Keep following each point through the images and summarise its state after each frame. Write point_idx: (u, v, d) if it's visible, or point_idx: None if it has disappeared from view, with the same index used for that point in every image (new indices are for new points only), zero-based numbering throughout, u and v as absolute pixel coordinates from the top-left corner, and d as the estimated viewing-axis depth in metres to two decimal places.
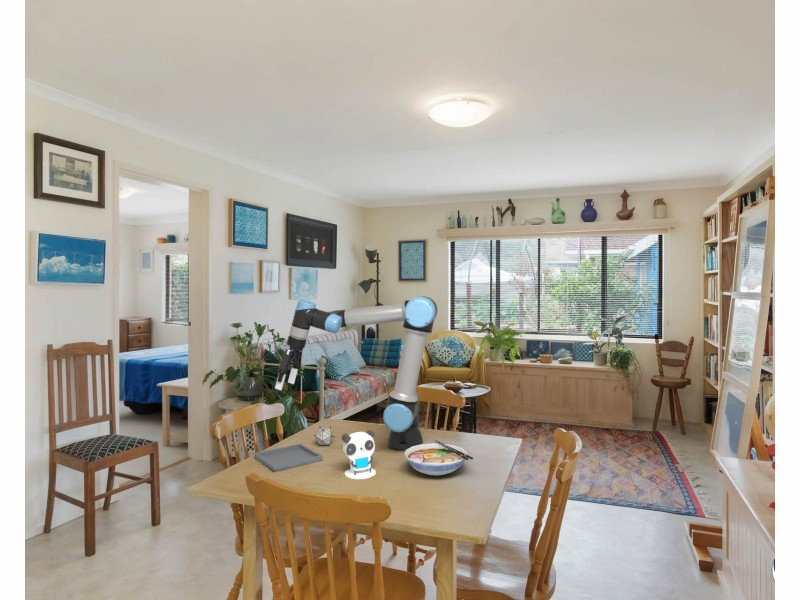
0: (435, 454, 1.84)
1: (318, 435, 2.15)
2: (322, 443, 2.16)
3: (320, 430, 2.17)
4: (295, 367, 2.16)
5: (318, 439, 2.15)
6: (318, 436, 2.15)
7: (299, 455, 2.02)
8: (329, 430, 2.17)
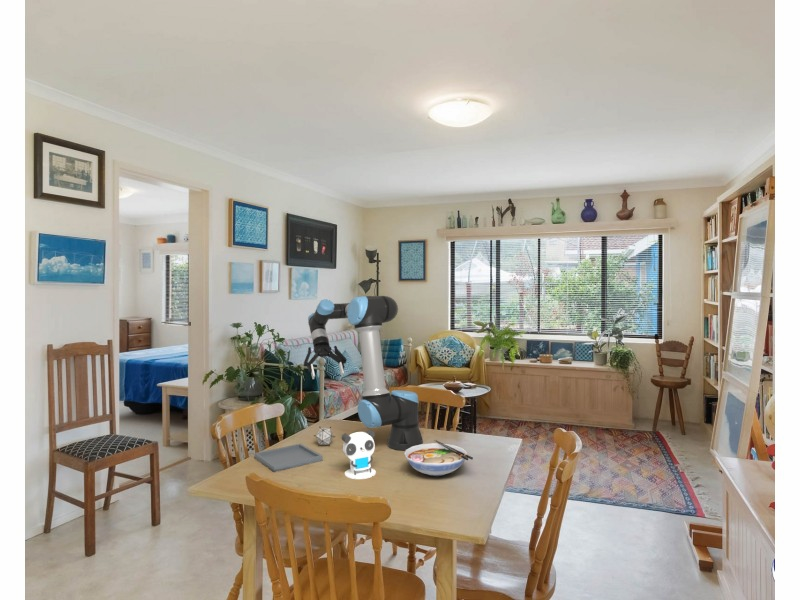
0: (435, 454, 1.84)
1: (318, 435, 2.15)
2: (322, 443, 2.16)
3: (320, 430, 2.17)
4: None
5: (318, 439, 2.15)
6: (318, 436, 2.15)
7: (299, 455, 2.02)
8: (329, 430, 2.17)
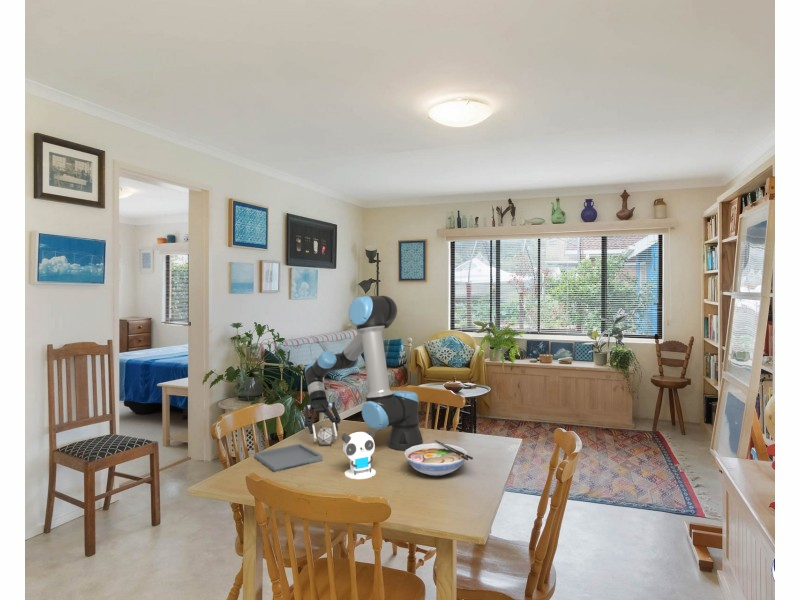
0: (435, 454, 1.84)
1: (319, 435, 2.15)
2: (323, 443, 2.16)
3: (321, 430, 2.17)
4: (333, 423, 2.21)
5: (319, 439, 2.15)
6: (319, 436, 2.15)
7: (299, 455, 2.02)
8: (330, 430, 2.17)
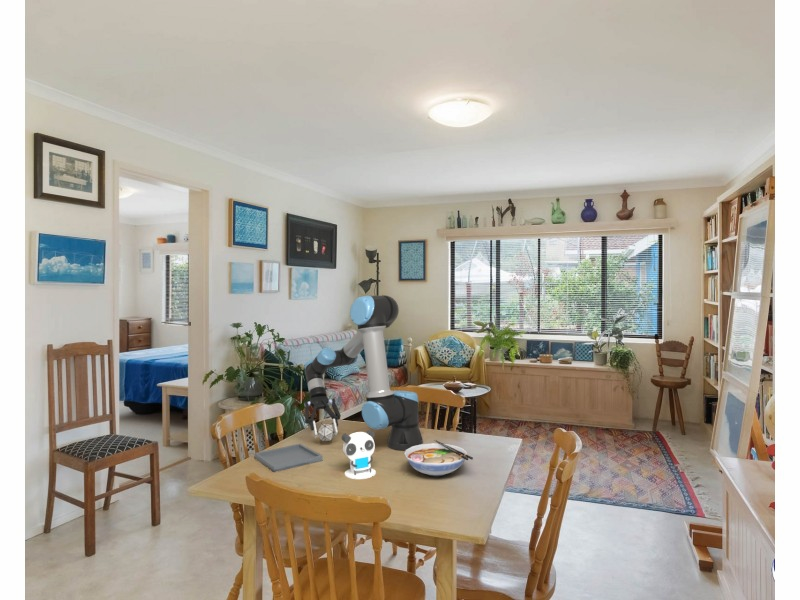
0: (435, 454, 1.84)
1: (320, 431, 2.15)
2: (324, 439, 2.16)
3: (322, 426, 2.17)
4: (334, 419, 2.21)
5: (320, 435, 2.15)
6: (320, 432, 2.15)
7: (299, 455, 2.02)
8: (331, 426, 2.17)
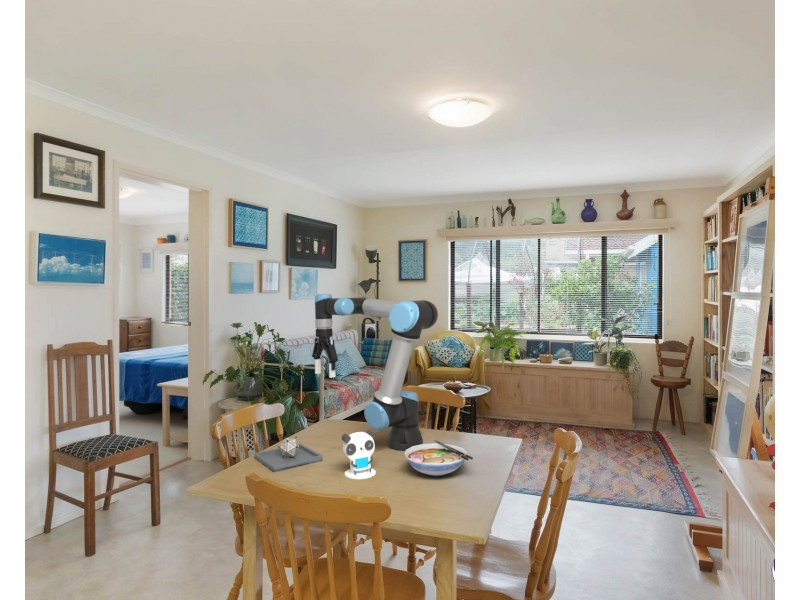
0: (435, 454, 1.84)
1: (282, 446, 1.98)
2: (286, 455, 1.98)
3: (284, 441, 1.99)
4: None
5: (282, 451, 1.98)
6: (282, 447, 1.98)
7: (299, 455, 2.02)
8: (294, 441, 2.00)
